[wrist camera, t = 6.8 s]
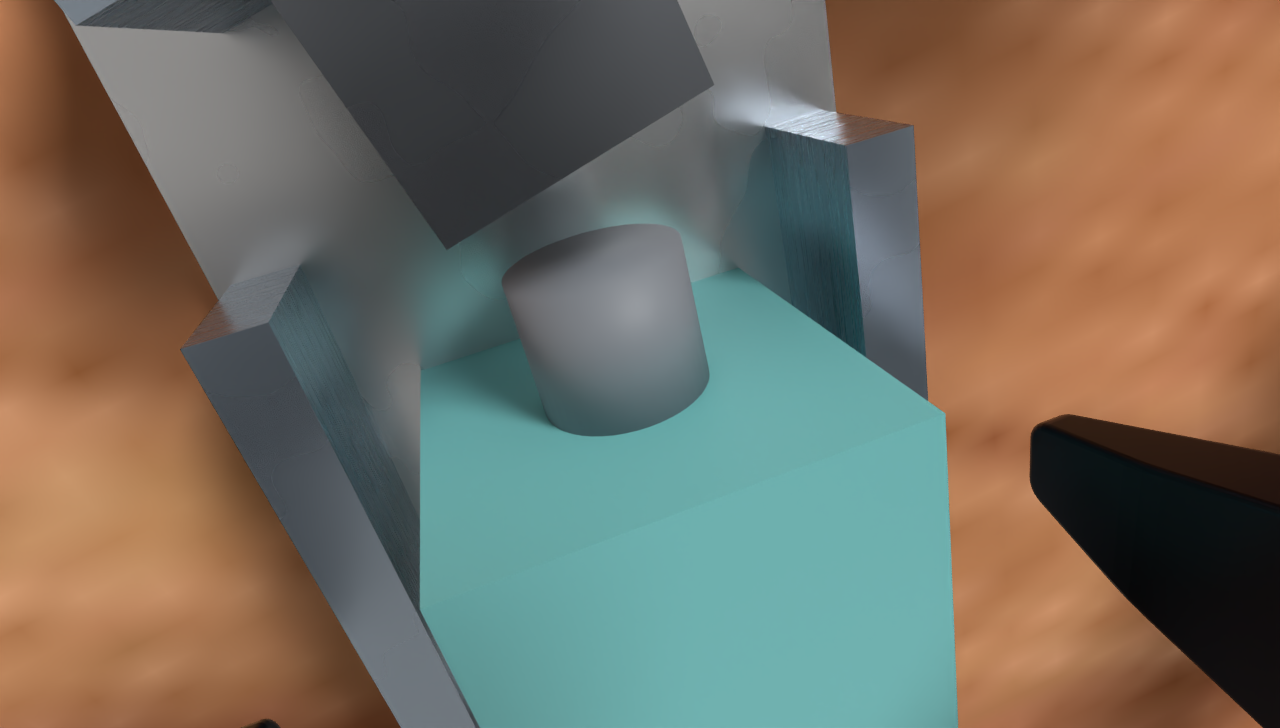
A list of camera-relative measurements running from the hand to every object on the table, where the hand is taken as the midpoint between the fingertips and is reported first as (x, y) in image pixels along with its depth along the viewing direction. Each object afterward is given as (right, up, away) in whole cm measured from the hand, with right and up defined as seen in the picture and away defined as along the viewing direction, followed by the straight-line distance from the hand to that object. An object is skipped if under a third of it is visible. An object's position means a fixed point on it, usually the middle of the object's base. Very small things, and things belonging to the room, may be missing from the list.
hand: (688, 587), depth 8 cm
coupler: (-1, +1, +3) cm, 3 cm away
